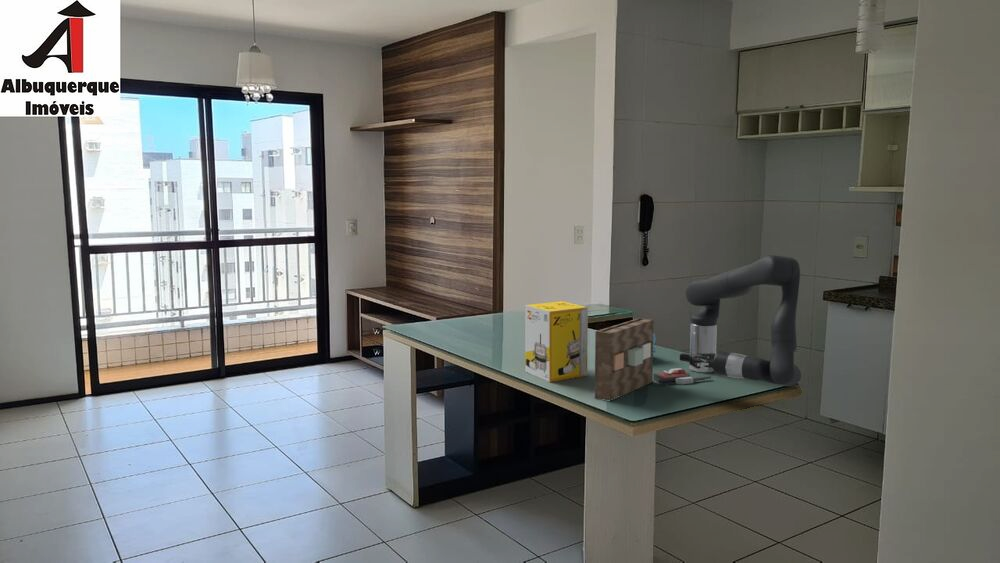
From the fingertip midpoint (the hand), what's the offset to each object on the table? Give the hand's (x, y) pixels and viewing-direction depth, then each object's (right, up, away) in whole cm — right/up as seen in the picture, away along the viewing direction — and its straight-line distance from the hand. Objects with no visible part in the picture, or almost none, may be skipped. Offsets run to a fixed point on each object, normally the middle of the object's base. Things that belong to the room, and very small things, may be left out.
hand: (680, 356), depth 233 cm
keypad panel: (-18, -12, +5) cm, 22 cm away
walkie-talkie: (+4, -11, +15) cm, 19 cm away
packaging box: (-39, -9, +26) cm, 48 cm away
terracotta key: (-23, -3, -4) cm, 23 cm away
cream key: (-11, -1, +10) cm, 15 cm away
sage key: (-15, -2, +2) cm, 16 cm away
